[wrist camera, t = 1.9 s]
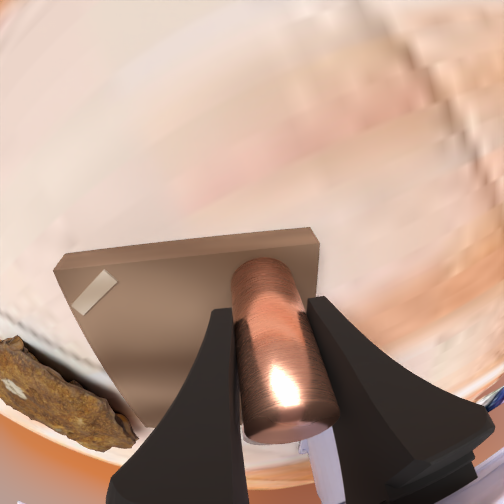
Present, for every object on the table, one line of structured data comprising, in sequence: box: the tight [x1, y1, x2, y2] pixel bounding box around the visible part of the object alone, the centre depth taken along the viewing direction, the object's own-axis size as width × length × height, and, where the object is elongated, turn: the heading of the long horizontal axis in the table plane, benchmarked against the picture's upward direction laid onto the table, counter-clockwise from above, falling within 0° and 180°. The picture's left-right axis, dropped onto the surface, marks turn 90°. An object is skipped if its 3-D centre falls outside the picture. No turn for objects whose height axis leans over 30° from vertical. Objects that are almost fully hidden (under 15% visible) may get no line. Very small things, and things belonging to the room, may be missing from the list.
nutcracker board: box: [53, 227, 320, 428], centre depth 16 cm, size 15×12×2 cm
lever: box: [231, 257, 340, 445], centre depth 13 cm, size 14×4×6 cm, turn 3°
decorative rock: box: [0, 335, 139, 452], centre depth 17 cm, size 11×4×15 cm
